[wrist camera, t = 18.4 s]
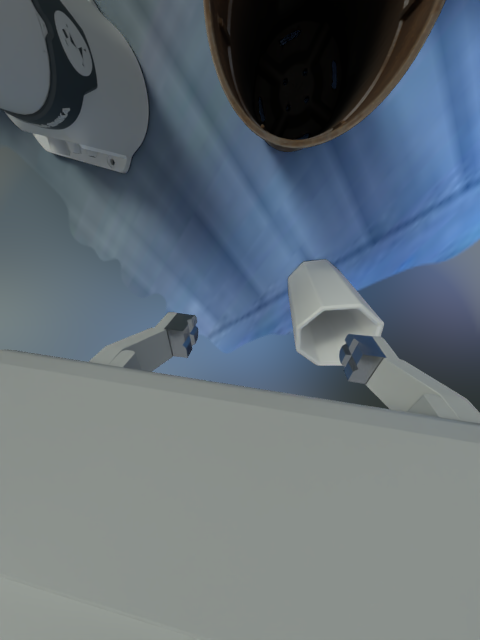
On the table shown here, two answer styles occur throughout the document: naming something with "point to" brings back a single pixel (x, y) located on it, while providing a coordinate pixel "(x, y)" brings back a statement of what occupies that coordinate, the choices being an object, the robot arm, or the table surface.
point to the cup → (327, 312)
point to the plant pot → (313, 60)
